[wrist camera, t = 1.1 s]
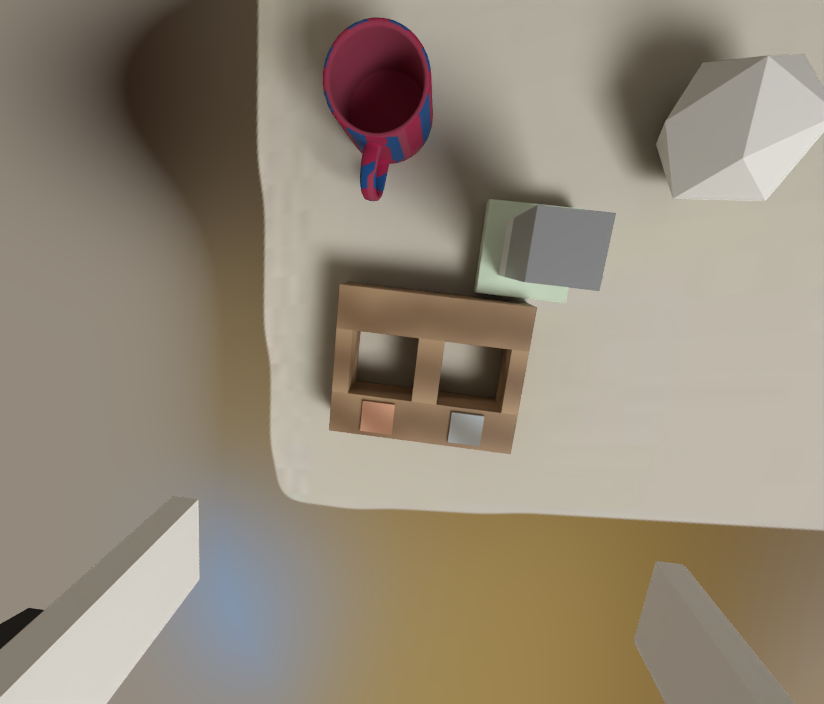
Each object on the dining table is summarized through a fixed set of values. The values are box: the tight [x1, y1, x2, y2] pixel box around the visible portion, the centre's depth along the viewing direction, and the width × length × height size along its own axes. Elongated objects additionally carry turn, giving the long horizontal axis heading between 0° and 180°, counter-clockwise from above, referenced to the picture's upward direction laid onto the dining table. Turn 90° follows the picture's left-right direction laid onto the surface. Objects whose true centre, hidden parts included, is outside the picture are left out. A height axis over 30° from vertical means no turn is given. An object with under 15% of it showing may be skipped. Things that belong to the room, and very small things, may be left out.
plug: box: [499, 205, 616, 291], centre depth 27 cm, size 4×4×10 cm
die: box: [656, 54, 824, 201], centre depth 27 cm, size 8×9×10 cm
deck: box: [474, 199, 584, 303], centre depth 32 cm, size 7×7×2 cm
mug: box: [323, 18, 433, 201], centre depth 29 cm, size 7×10×7 cm
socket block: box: [329, 282, 537, 454], centre depth 34 cm, size 12×15×4 cm
